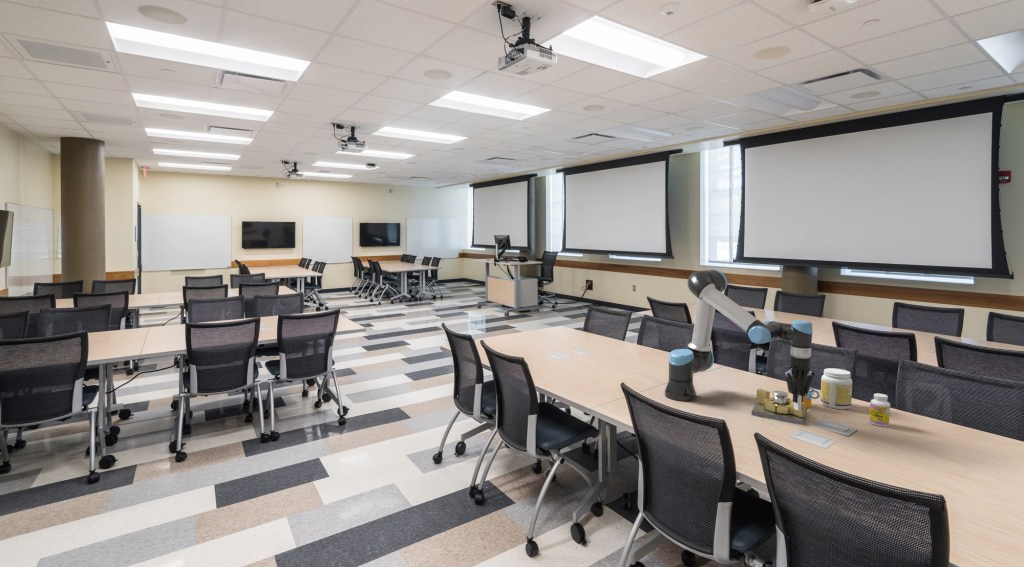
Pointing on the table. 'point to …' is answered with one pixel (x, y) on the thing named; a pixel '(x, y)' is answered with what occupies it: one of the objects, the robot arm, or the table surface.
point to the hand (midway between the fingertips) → (797, 409)
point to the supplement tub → (836, 388)
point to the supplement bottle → (879, 410)
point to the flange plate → (780, 400)
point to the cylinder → (809, 397)
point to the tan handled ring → (771, 405)
